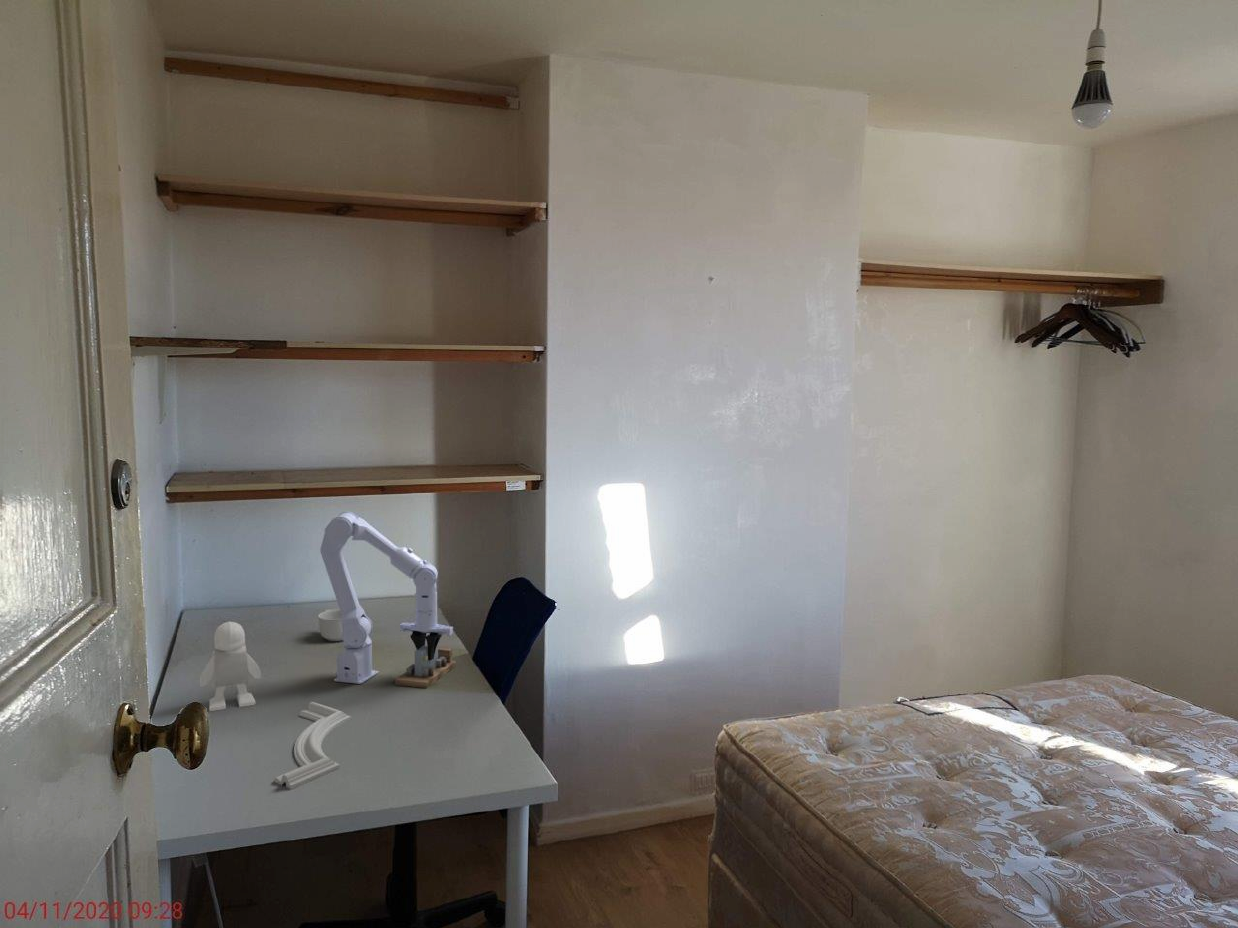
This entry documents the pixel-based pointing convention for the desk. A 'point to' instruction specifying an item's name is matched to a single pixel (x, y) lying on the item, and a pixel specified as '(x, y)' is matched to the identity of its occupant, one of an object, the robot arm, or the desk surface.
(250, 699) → the toy robot
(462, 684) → the desk surface
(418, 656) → the rectangular block
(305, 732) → the molding
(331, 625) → the teacup
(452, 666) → the knife switch board
